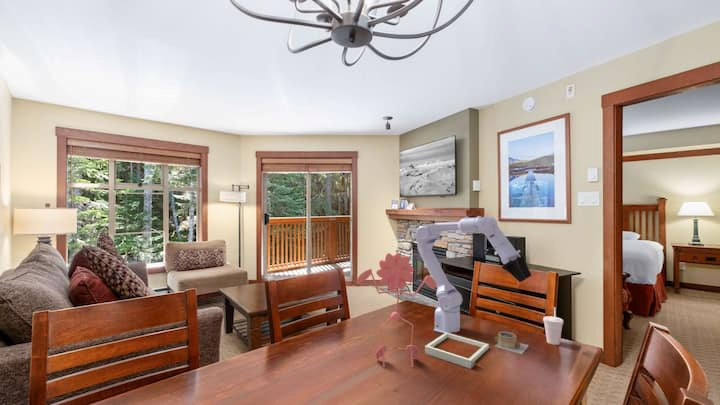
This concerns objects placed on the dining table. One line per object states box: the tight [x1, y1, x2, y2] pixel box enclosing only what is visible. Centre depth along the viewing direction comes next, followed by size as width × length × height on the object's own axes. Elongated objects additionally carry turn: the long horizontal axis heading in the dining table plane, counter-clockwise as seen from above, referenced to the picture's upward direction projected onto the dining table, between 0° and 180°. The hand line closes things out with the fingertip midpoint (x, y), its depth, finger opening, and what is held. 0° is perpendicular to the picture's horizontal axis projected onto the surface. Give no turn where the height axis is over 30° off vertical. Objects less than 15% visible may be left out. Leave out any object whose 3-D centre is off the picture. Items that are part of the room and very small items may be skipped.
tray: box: [424, 333, 490, 369], centre depth 113 cm, size 16×16×2 cm
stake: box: [494, 330, 529, 355], centre depth 116 cm, size 9×9×5 cm
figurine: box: [356, 252, 437, 368], centre depth 110 cm, size 15×26×35 cm, turn 92°
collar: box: [494, 330, 521, 348], centre depth 117 cm, size 8×6×4 cm
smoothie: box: [542, 306, 564, 346], centre depth 119 cm, size 6×6×14 cm
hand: (525, 278), depth 113 cm, fingers open, 7 cm apart
